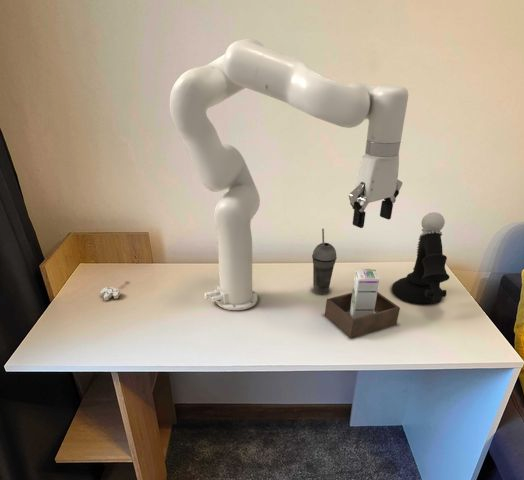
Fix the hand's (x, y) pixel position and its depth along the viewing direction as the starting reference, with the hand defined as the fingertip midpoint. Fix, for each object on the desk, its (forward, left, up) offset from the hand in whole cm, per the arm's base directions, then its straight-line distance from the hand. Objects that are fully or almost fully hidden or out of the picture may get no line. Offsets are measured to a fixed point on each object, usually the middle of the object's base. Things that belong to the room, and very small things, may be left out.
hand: (371, 222), depth 113 cm
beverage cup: (-1, +17, -28) cm, 33 cm away
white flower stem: (-58, +43, -28) cm, 78 cm away
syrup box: (0, -2, -28) cm, 28 cm away
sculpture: (+23, -1, -28) cm, 36 cm away
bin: (0, -2, -28) cm, 28 cm away
